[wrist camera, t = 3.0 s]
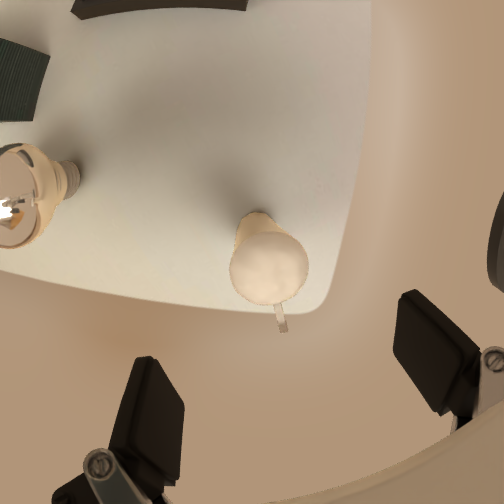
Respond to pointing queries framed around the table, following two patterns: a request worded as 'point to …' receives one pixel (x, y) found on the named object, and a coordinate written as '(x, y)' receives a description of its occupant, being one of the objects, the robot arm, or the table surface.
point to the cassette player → (20, 80)
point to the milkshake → (267, 264)
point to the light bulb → (31, 192)
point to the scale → (146, 6)
